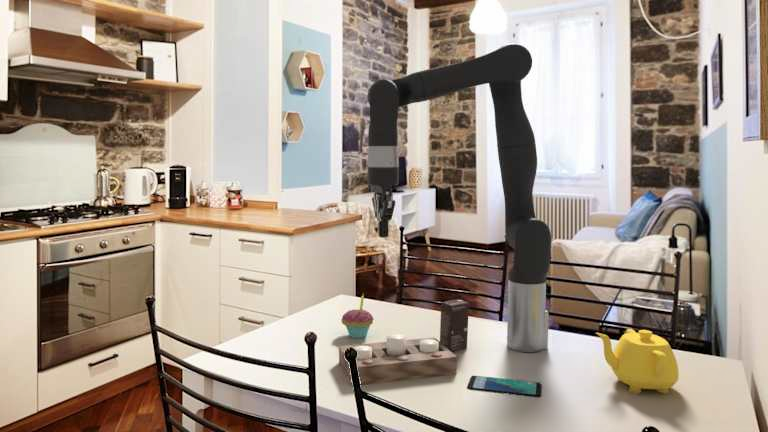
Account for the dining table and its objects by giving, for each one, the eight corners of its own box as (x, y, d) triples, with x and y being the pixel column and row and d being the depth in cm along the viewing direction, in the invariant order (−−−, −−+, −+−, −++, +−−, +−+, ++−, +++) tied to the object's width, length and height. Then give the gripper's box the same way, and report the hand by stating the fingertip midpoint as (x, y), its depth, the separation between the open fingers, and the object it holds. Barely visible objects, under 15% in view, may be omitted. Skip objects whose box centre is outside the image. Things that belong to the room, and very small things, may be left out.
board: (434, 353, 139) (434, 336, 138) (456, 373, 125) (456, 355, 125) (339, 362, 132) (338, 345, 132) (351, 385, 119) (351, 366, 118)
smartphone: (471, 374, 124) (541, 382, 120) (471, 378, 124) (541, 385, 120) (466, 387, 117) (540, 395, 113) (466, 391, 117) (540, 399, 113)
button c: (369, 363, 129) (369, 344, 129) (374, 370, 125) (374, 351, 125) (350, 365, 128) (350, 346, 128) (354, 372, 124) (354, 353, 123)
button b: (402, 351, 131) (402, 333, 131) (408, 358, 127) (408, 339, 126) (384, 353, 130) (384, 335, 130) (389, 360, 126) (389, 341, 125)
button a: (434, 356, 133) (434, 338, 133) (441, 363, 129) (441, 344, 129) (417, 358, 132) (417, 340, 132) (423, 365, 128) (423, 346, 128)
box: (450, 353, 139) (451, 305, 137) (439, 347, 142) (439, 301, 141) (469, 348, 142) (469, 302, 141) (457, 343, 146) (457, 298, 144)
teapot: (620, 367, 129) (622, 317, 128) (687, 385, 119) (690, 331, 118) (593, 384, 119) (595, 330, 118) (663, 405, 109) (667, 346, 108)
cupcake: (379, 334, 154) (379, 291, 152) (361, 342, 146) (361, 297, 145) (353, 328, 158) (353, 287, 157) (335, 337, 151) (334, 293, 150)
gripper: (406, 165, 129) (406, 240, 131) (390, 165, 142) (390, 232, 144) (374, 166, 127) (375, 241, 129) (361, 165, 140) (362, 234, 142)
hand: (383, 236), depth 136 cm, fingers closed
